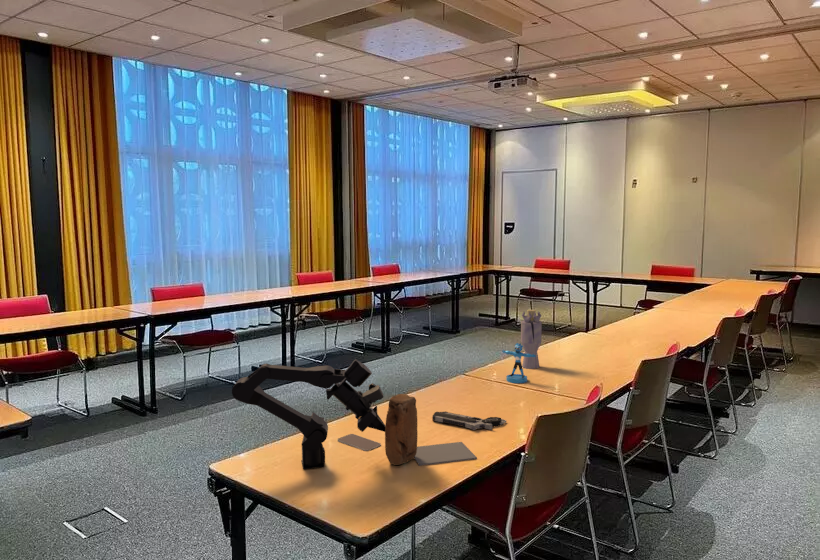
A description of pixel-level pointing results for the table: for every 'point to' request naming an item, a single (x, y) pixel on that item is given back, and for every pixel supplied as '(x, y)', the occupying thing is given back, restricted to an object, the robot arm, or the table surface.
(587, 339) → the table surface
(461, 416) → the firearm
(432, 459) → the mat
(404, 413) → the brown pitted rounded part
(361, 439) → the smartphone
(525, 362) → the purple tower sculpture
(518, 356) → the figurine
